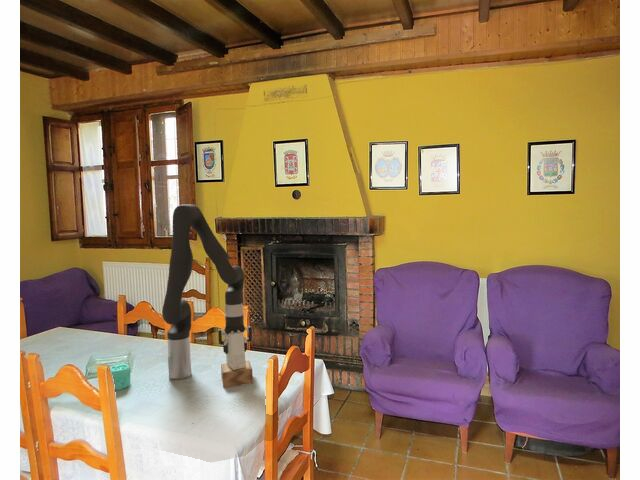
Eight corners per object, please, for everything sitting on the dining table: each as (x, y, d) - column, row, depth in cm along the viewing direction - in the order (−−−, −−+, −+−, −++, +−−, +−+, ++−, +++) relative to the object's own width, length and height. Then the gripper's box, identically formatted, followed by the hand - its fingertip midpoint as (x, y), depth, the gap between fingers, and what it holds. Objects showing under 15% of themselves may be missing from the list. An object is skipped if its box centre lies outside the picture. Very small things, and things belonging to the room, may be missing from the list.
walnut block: (223, 387, 171) (222, 372, 170) (221, 377, 181) (221, 363, 180) (252, 383, 175) (252, 368, 174) (249, 374, 184) (249, 360, 184)
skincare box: (246, 367, 175) (244, 332, 174) (232, 370, 172) (230, 335, 171) (239, 361, 182) (237, 328, 181) (225, 364, 179) (223, 330, 178)
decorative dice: (110, 384, 177) (108, 365, 176) (130, 380, 179) (129, 362, 179) (107, 391, 169) (106, 372, 168) (129, 388, 172) (128, 369, 171)
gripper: (217, 317, 169) (218, 357, 171) (252, 314, 174) (254, 353, 175) (216, 313, 177) (217, 351, 178) (250, 310, 181) (251, 347, 182)
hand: (235, 352), depth 176 cm, fingers open, 7 cm apart
